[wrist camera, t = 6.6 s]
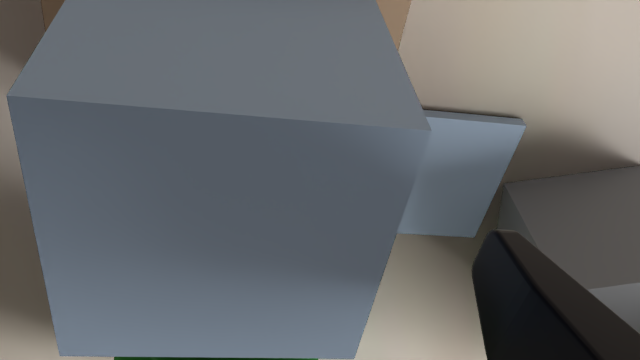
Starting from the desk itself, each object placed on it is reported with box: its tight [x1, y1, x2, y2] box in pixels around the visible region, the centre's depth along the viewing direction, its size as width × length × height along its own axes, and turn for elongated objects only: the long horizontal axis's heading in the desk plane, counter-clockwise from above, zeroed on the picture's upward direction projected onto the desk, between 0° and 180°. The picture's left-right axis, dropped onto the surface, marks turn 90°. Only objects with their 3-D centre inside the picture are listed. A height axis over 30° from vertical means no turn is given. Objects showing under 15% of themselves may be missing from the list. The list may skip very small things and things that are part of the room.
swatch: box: [397, 110, 526, 237], centre depth 19 cm, size 5×5×1 cm
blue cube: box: [7, 0, 432, 359], centre depth 10 cm, size 5×5×5 cm
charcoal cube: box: [497, 165, 640, 333], centre depth 20 cm, size 5×5×5 cm
